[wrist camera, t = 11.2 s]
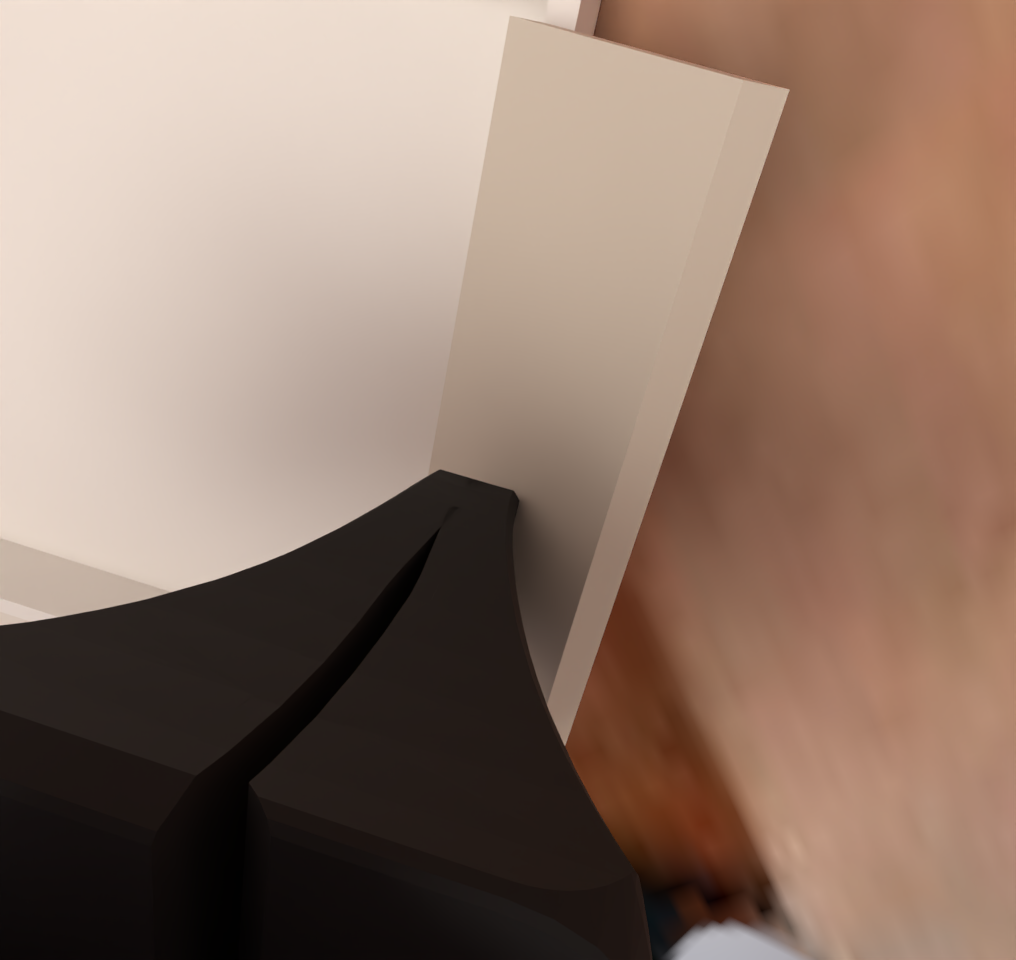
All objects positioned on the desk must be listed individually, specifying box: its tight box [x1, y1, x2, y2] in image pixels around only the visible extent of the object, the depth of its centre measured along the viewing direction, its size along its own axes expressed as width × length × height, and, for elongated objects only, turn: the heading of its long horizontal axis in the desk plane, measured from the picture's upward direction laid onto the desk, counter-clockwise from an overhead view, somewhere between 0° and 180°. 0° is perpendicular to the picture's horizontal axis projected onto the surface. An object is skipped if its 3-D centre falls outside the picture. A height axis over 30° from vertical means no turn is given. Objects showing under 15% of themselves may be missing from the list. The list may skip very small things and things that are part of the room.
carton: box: [0, 0, 601, 625], centre depth 15 cm, size 20×16×2 cm
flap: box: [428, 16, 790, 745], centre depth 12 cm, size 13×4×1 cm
